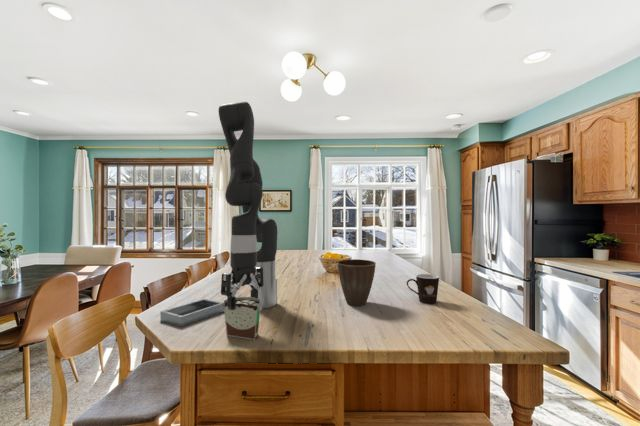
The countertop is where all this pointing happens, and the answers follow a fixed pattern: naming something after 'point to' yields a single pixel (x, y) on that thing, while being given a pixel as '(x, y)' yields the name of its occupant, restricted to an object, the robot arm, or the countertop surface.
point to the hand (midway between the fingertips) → (243, 305)
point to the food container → (243, 318)
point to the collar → (175, 313)
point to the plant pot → (356, 280)
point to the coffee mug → (426, 288)
